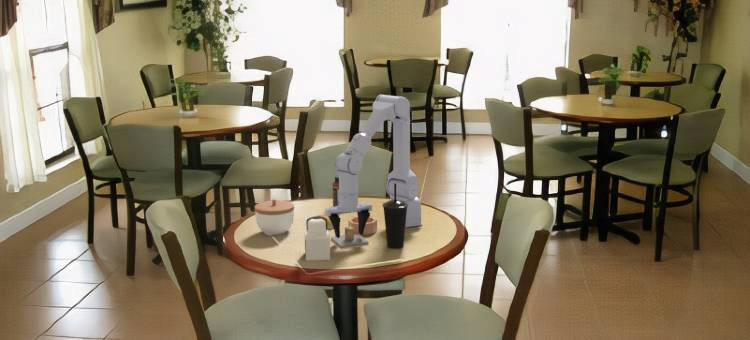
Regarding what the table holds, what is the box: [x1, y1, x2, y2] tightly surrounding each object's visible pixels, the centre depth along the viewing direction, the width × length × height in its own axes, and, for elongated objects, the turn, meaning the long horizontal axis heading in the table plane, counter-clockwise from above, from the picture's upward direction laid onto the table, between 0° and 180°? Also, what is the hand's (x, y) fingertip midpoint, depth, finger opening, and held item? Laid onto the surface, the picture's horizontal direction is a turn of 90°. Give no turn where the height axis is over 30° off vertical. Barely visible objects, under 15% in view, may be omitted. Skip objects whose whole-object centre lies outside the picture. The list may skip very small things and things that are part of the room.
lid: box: [330, 226, 370, 248], centre depth 237 cm, size 9×9×4 cm
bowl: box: [347, 216, 378, 236], centre depth 248 cm, size 9×9×4 cm
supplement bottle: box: [332, 175, 339, 207], centre depth 276 cm, size 6×6×11 cm
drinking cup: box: [382, 183, 408, 250], centre depth 231 cm, size 8×8×20 cm
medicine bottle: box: [304, 215, 331, 261], centre depth 224 cm, size 7×7×12 cm
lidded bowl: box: [254, 198, 295, 237], centre depth 247 cm, size 13×13×11 cm
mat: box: [330, 236, 373, 251], centre depth 237 cm, size 11×11×1 cm
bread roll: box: [317, 214, 334, 231], centre depth 253 cm, size 8×9×4 cm
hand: (349, 235), depth 237 cm, fingers open, 7 cm apart
